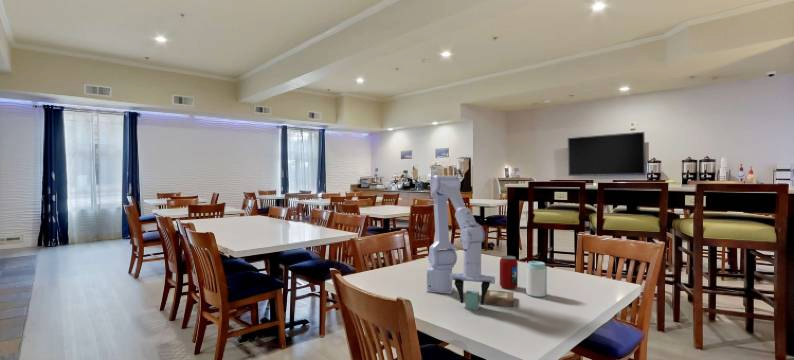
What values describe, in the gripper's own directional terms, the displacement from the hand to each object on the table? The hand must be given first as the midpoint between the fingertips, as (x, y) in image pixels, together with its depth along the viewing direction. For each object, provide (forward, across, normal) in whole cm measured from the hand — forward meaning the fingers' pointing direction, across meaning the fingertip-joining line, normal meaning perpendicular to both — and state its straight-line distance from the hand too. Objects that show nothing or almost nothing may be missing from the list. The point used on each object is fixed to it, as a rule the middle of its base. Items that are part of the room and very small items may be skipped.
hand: (472, 303), depth 128 cm
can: (+2, +21, +21) cm, 30 cm away
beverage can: (+2, +11, +28) cm, 30 cm away
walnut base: (+1, +8, +10) cm, 13 cm away
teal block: (+2, 0, 0) cm, 2 cm away
